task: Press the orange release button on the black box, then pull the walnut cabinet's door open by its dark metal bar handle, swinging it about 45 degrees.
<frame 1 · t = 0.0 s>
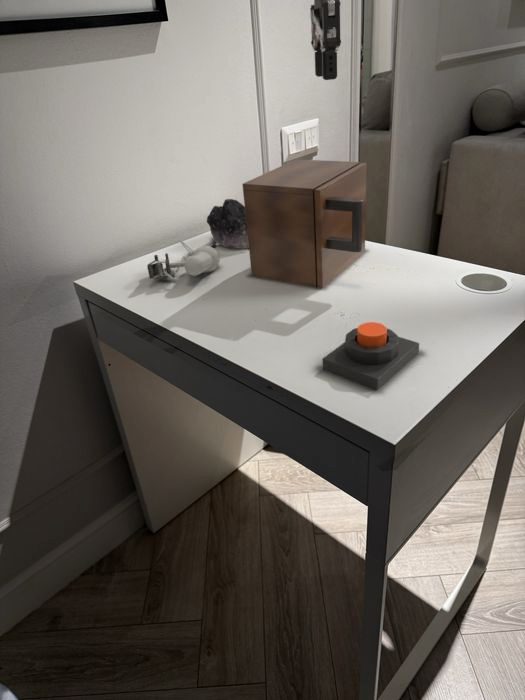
hand: (325, 77, 85), 31 cm above the table, tool pointing down, fingers open, 8 cm apart
crystal cluster: (242, 240, 112), on the table
clip-on lamp: (191, 272, 100), on the table
cabinet door: (358, 227, 87), point 8 cm above the table, hinge at 0.0°
cabinet: (307, 265, 97), on the table
release button: (371, 335, 65), point 4 cm above the table, slide at 0.1 cm
button box: (371, 365, 67), on the table
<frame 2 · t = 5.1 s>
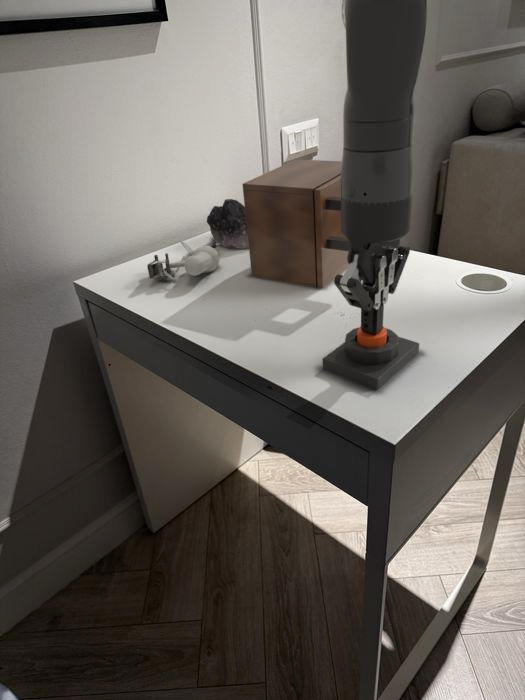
hand: (371, 331, 64), 5 cm above the table, tool pointing down, fingers closed
release button: (371, 336, 65), point 4 cm above the table, slide at -0.2 cm, touching gripper
everything else where it was.
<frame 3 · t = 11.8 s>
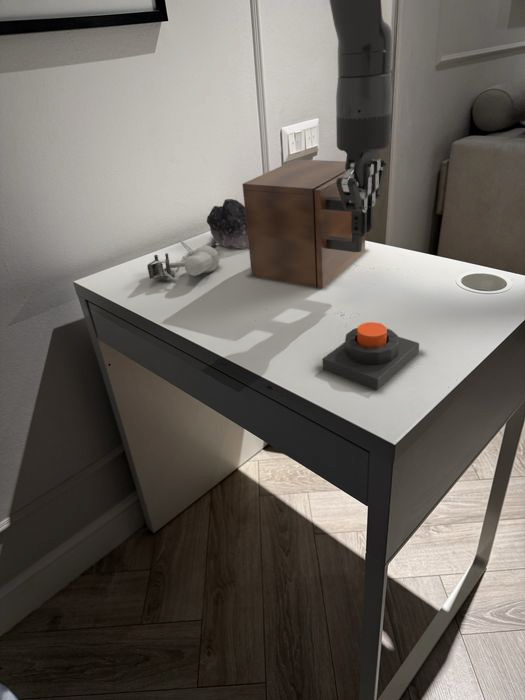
hand: (361, 232, 80), 10 cm above the table, tool pointing down, fingers closed on cabinet door
cabinet door: (358, 227, 87), point 8 cm above the table, hinge at 0.0°, touching gripper
release button: (371, 335, 65), point 4 cm above the table, slide at 0.1 cm
everything else where it was.
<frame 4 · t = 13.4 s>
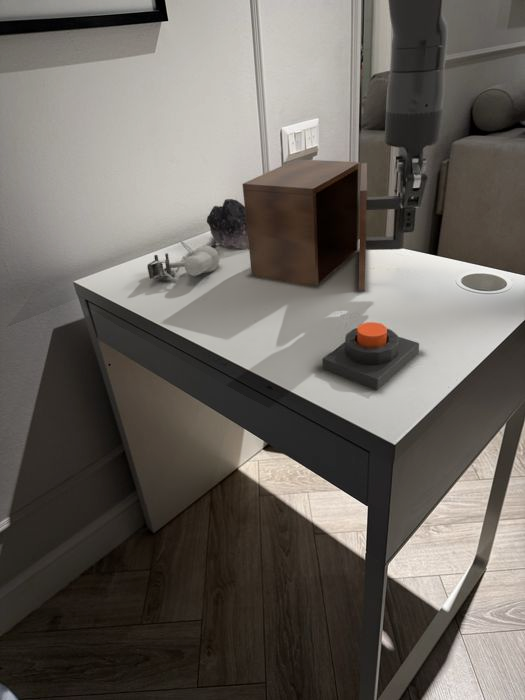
hand: (404, 228, 80), 10 cm above the table, tool pointing down, fingers closed on cabinet door
cabinet door: (380, 225, 87), point 8 cm above the table, hinge at 22.5°, touching gripper
everything else where it was.
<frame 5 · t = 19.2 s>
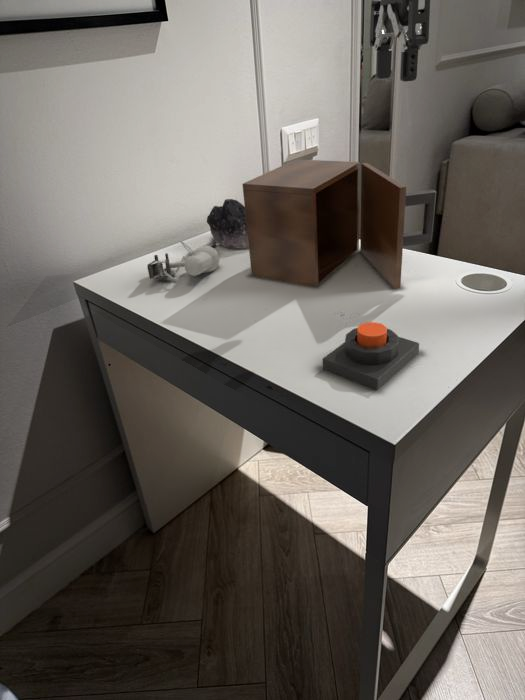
hand: (395, 79, 78), 30 cm above the table, tool pointing down, fingers open, 8 cm apart
cabinet door: (396, 222, 88), point 8 cm above the table, hinge at 40.9°
everything else where it was.
at the end: release button pushed in 1.1 cm at the most during the clip, back to where it started at the end; release button slide at 0.1 cm; cabinet door at +41° (first picture: +0°) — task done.
